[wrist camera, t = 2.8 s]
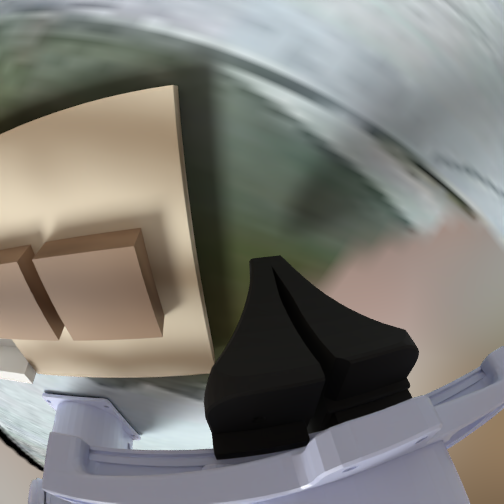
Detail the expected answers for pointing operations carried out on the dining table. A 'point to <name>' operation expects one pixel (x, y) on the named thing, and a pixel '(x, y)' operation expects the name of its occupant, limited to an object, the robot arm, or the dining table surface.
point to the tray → (14, 363)
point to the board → (111, 222)
